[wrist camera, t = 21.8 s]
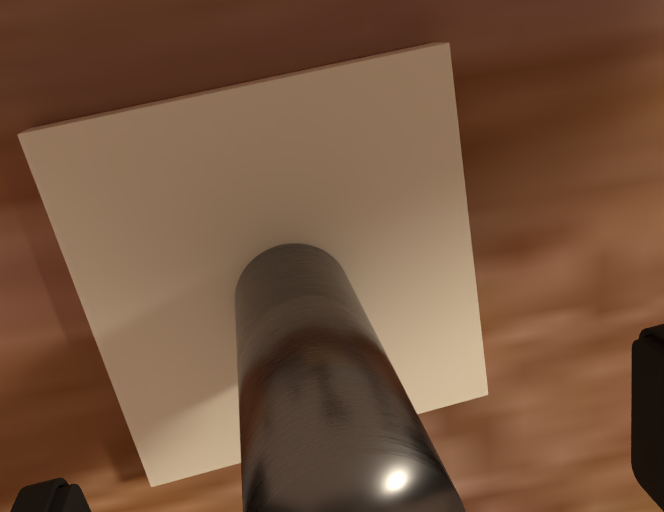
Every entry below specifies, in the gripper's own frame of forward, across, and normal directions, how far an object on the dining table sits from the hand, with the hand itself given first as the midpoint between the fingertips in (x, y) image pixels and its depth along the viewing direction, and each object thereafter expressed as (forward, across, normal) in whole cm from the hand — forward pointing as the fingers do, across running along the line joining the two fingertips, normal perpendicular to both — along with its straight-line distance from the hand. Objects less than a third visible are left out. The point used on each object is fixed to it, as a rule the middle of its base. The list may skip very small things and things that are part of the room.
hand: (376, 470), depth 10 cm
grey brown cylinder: (+9, +1, +1) cm, 9 cm away
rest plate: (+10, +1, 0) cm, 11 cm away
